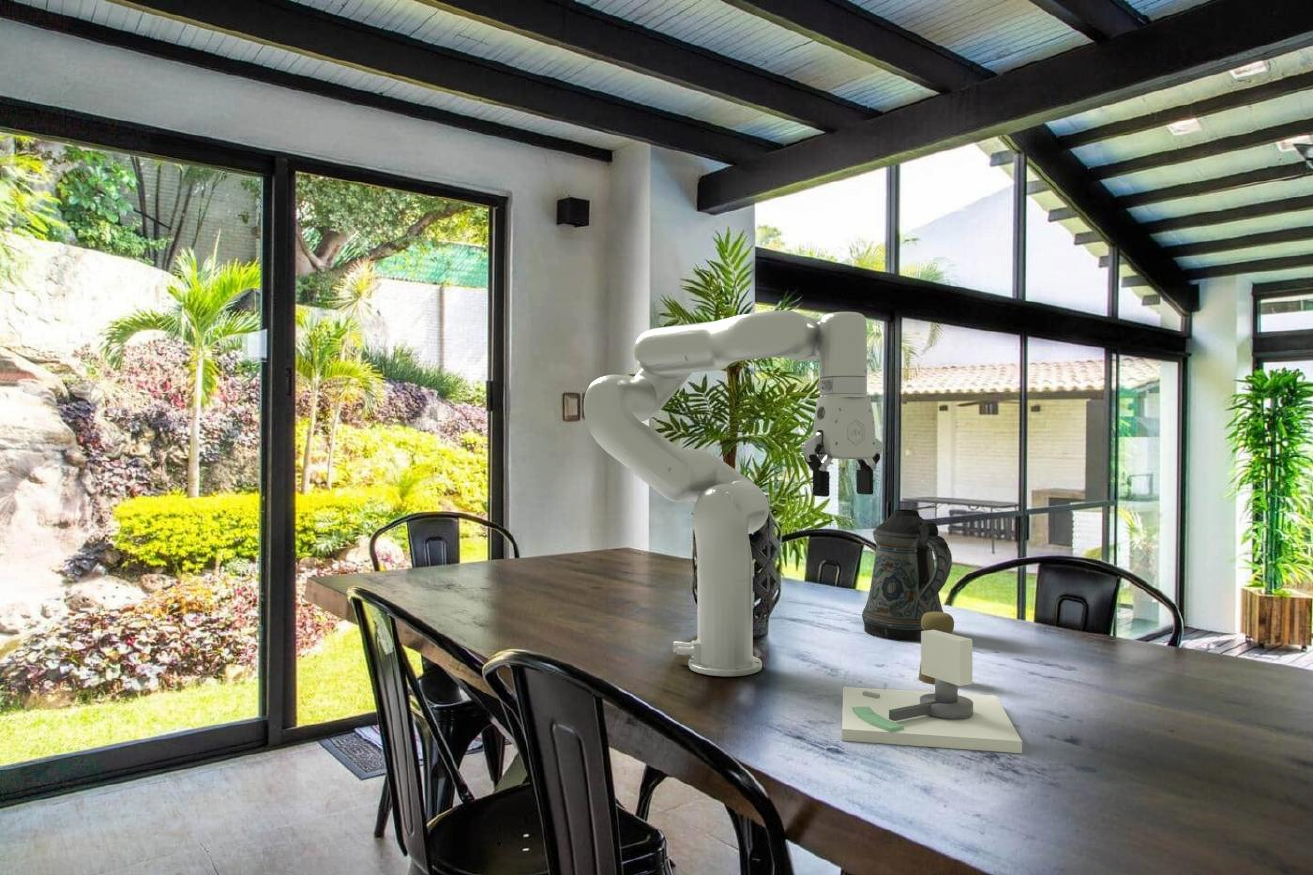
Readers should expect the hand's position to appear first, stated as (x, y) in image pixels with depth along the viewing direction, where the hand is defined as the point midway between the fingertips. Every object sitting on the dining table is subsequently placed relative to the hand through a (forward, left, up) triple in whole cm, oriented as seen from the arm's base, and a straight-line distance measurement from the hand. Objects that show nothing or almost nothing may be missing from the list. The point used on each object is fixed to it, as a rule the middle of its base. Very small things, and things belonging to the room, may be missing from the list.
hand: (843, 495), depth 142 cm
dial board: (+11, -18, -30) cm, 37 cm away
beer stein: (+13, +40, -31) cm, 52 cm away
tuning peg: (+12, -20, -28) cm, 37 cm away
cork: (+15, +5, -31) cm, 34 cm away
